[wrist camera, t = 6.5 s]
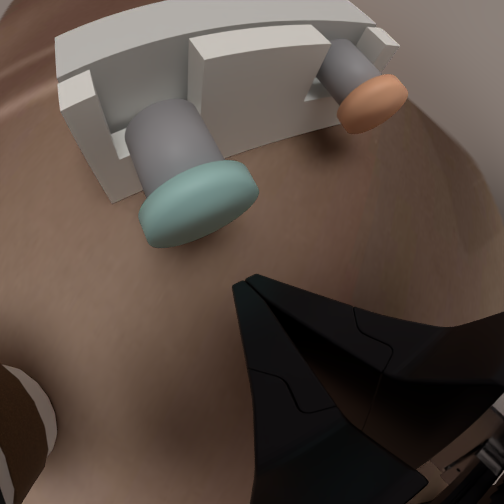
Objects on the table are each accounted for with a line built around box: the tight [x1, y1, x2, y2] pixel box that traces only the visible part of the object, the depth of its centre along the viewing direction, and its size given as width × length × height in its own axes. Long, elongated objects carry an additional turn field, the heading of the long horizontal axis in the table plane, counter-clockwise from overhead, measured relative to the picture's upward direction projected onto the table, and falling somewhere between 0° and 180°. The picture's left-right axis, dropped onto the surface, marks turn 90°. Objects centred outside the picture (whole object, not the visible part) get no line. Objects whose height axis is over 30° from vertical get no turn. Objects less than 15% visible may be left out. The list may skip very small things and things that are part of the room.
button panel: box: [55, 0, 400, 204], centre depth 17 cm, size 7×20×10 cm, turn 117°
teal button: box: [125, 99, 259, 248], centre depth 12 cm, size 5×5×5 cm
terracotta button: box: [316, 39, 408, 134], centre depth 16 cm, size 5×5×5 cm
